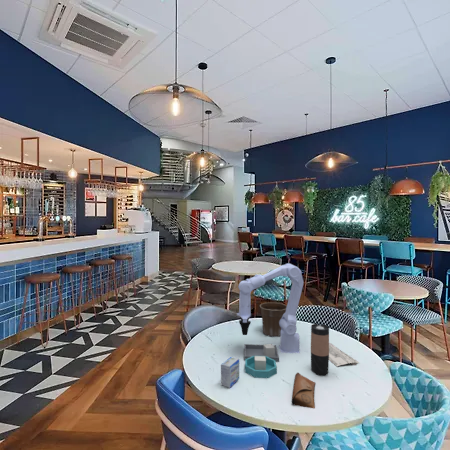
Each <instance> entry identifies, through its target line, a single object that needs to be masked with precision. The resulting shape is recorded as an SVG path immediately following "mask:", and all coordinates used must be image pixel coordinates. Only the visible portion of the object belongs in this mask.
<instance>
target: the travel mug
mask: <svg viewBox="0 0 450 450" xmlns="http://www.w3.org/2000/svg"><path fill="white" fill-rule="evenodd" d="M310 328H311V329H310V370H311V372H312V373H313V374H314V375H316V376H320V377H325V376H328V374H329V366H330V365H329V362H330V361H329V343H330V327H329V326H328V325H326V324H318V323H313V324H311V327H310Z"/></svg>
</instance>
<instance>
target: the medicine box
mask: <svg viewBox="0 0 450 450" xmlns="http://www.w3.org/2000/svg"><path fill="white" fill-rule="evenodd" d="M239 379H240V359H239V358H237V357H233V356H230V357H229V358H228V359H226V360H225V361H223V362H222V363H221V364H220V385H221V386H224V387H226V388H229V389H230V388H232V387H233V386H234V385H235V384H236V382H238V381H239Z"/></svg>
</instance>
